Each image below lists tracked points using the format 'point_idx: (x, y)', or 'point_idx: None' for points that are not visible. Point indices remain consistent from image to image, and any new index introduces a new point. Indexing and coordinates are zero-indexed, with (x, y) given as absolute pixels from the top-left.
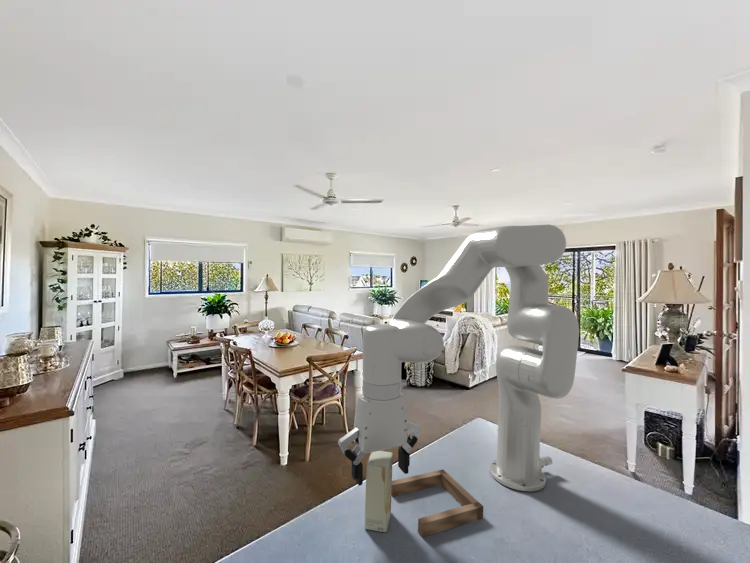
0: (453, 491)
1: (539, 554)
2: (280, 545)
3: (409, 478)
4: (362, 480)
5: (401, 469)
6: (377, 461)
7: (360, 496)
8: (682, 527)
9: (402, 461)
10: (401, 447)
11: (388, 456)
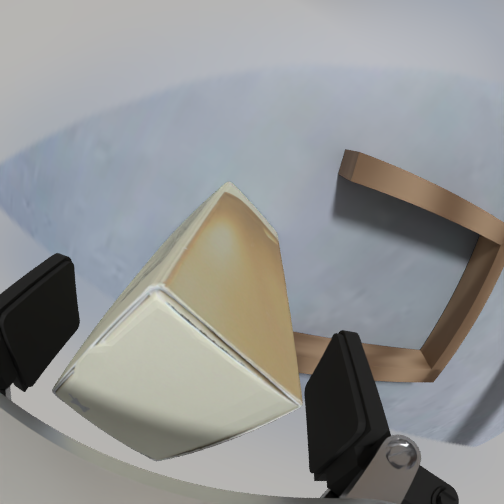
0: (464, 296)
1: (391, 427)
2: (6, 185)
3: (430, 192)
4: (69, 337)
5: (318, 365)
6: (115, 420)
7: (237, 101)
8: (497, 424)
9: (319, 414)
10: (348, 469)
11: (225, 426)
